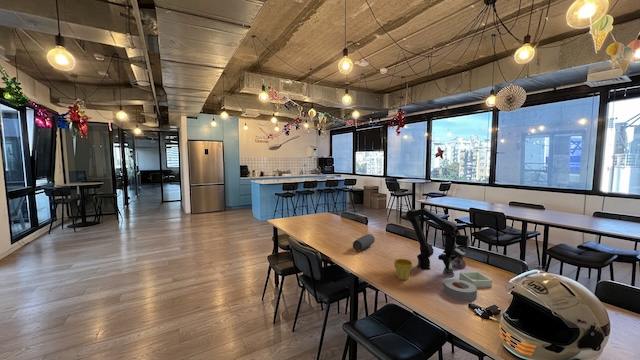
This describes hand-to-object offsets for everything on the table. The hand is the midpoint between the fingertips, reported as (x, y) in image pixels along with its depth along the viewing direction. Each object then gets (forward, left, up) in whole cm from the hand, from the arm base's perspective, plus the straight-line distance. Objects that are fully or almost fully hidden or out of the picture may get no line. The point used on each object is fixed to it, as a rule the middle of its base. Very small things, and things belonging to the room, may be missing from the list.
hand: (448, 268), depth 165 cm
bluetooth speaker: (-39, +52, -4) cm, 65 cm away
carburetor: (+14, +13, -4) cm, 20 cm away
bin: (+9, -12, -4) cm, 16 cm away
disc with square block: (0, 0, -4) cm, 4 cm away
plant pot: (-30, -1, -4) cm, 30 cm away
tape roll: (-8, -23, -5) cm, 25 cm away
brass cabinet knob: (0, 0, -2) cm, 2 cm away
